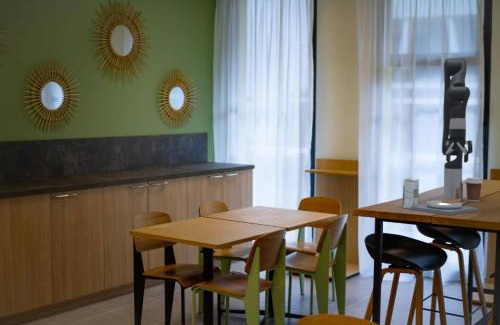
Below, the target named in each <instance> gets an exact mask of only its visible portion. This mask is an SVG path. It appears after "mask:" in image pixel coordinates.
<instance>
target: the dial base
mask: <svg viewBox="0 0 500 325" xmlns="http://www.w3.org/2000/svg"><path fill="white" fill-rule="evenodd" d="M410 211H417V212H425V213H432V214H440V215H446V216H447V215H448V216H454V215H460V214H465V213H467V214H468V213H474V212H478V211H479V208H478V207H472V206H466V205H464V206H463V205H462V208H458V209H439V208H430V207H427V204H421V205H418V206H411V207H410Z"/></svg>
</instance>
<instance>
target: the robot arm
mask: <svg viewBox="0 0 500 325" xmlns="http://www.w3.org/2000/svg"><path fill="white" fill-rule="evenodd" d="M467 65H468V64H467V61H466V59H465V58H463V57H450V58H448V57H447V58H445V60H444V63H443V83H444V84H443V85H444V89H443V92H444V93H443V110H442V111H443V112H442V113H443V116H442V117H443V118H442V119H443V121H442V122H443V127H442V139H441V153H442V155H443V156H445V161H446V162H445V163H444V166H443V172H444V173H443V200H449V199H455V193H456V186H460V199H461V201H460V202H462V201H463V200H464V199H463V197H464V196H463V194H464V193H463V192H464V190H463V189H464V184H463V163H468V162H469V155H470V154H473V150H474V149H473V148H474V147H473V140H470V139H469V140H468V139H466V138H467V120H466V119H467V117H466V116H467V115H466V114H467V113H466V112H467V106H468V102H469V100H470V97H471V90H470V87H468V86H466V78H467V77H466V74H467V68H468V66H467ZM466 145H467V147H466ZM451 156H453V157H454V156H455V158H453V159H452V160H451Z"/></svg>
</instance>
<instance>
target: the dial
mask: <svg viewBox="0 0 500 325" xmlns="http://www.w3.org/2000/svg"><path fill="white" fill-rule="evenodd" d="M426 205H427V207H430V208H439V209H458V208H462V206H463V202H462V201H461V199H460V186H456V193H455V199H449V200H444V199H443V200H440V199H439V200H427V201H426Z"/></svg>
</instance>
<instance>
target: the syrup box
mask: <svg viewBox="0 0 500 325" xmlns="http://www.w3.org/2000/svg"><path fill="white" fill-rule="evenodd" d="M402 183H403V184H402V208H403V209H410V207H411V206H419V193H420V179H419V178H415V177H407V178H403V182H402Z"/></svg>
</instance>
